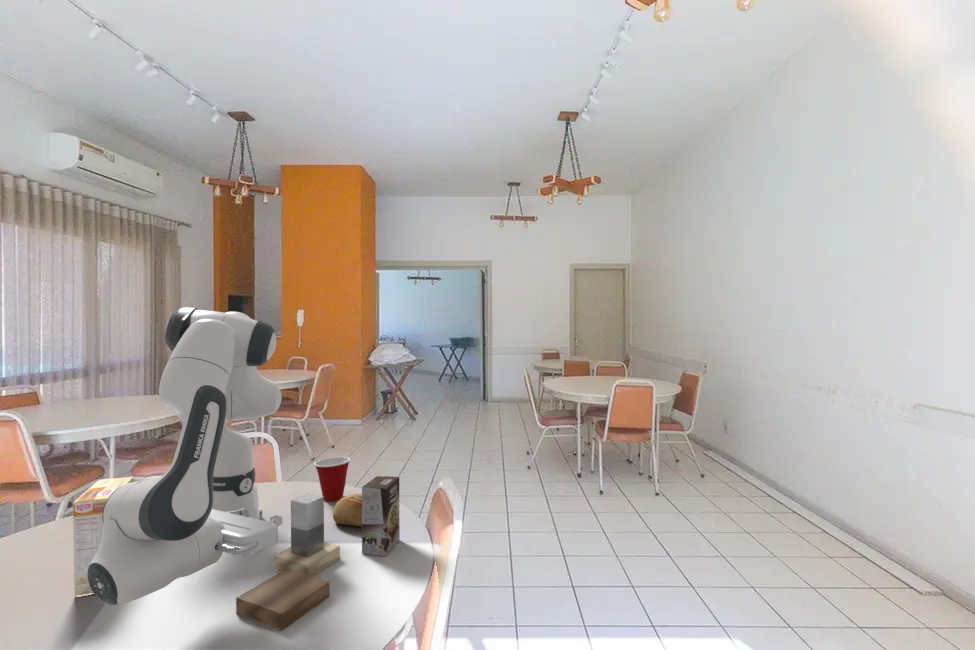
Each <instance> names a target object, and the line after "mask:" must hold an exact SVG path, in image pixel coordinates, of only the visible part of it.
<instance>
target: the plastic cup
mask: <svg viewBox="0 0 975 650" xmlns="http://www.w3.org/2000/svg"><path fill="white" fill-rule="evenodd" d="M350 461H351V458H350V457H349V456H334V457H332V456H331V457H329V458H323V459H320V460H317V461H315V462H314V463H313V465H314V467H315V470H316V472H317V475H318V481H319V486H320V490H321V496H324V502H330V503H331V502H338V501H339V500H340V499H341V498H344V494H345V493H344V492H345V487H346V482H347V481H346V479H347V474H348V469H349V463H350Z"/></svg>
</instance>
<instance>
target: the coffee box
mask: <svg viewBox="0 0 975 650" xmlns="http://www.w3.org/2000/svg"><path fill="white" fill-rule="evenodd" d="M361 494H362V527H361V554H363V555H372V556H380V557H386V556H387V555H388V554H389V553H390V551H392V549H393V548H394V547H395V546H396V545H397V543H398V542H399V541H400V538H401V537H400V536H401V535H400V530H401V529H400V525H401V524H400V523H401V522H400V477H399V476H387V475H386V476H381V475H377V476H374V478H373V479H371V480H370V481H368V482H367V483H365V484H364V485H362V486H361Z"/></svg>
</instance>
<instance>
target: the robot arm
mask: <svg viewBox="0 0 975 650" xmlns="http://www.w3.org/2000/svg"><path fill="white" fill-rule="evenodd" d="M164 341H165V344H166V346H167V347H168V348H169V350H171V351H172V353H171V354H170V356H169V359H168V361H167V363H166V364H165V365H166V366H165V368H164V369H163V372H162V375H161V377H160V382H159V386H158V395H159V397H160V398H159V399H161V402H162V403H163V404H164V405H165V406H166V407H167V408H168V409H169V410H170V411H172V412H174V413H175V414H176V415H177V417H178V419H179V420H181V422H182V428H181V431H180V436H179V439H178V442H177V445H176V449H175V452H174V455H173V460H172V463H171V465H170V467H169V468H168V469H167V470H166V471H165V472H164V474H162V475H161V476H160V477H155V478H147V479H141V480H136V481H133V482H130V483H127V484H125V485H123V486H121V487H119V488H118V489H117V490H115V491H114V492H113V493H112V494H111V496H110V497H109V498H108V500H107V501H106V503H105V506H104V509H103V515H102V518H103V524H104V525H103V532H102V538H101V542H100V545H99V548H98V551H97V553H96V555H95V557H94V558H93V560H92V561H91V563H90V565H89V567H88V582H89V585H90V588H91V590H92V591H93V593H94V594H95V595H94V596H95V597H97V598H98V599H99V600H100V601H101V602H103V603H105V604H108V605H115V606H117V605H122V604H127V603H130V602H133V601H135V600H136V601H137V600H139V599H141V598H143V597H147V596H148V595H151V594H154V593H155V592H157V591H160V590H162V589H164V588H167V587H168V585H170V584H172V583H173V582H174V581H175V580H177V579H180V578H185V577H189V576H191V575H193V574H195V573H197V572H199V571H202V570H204V569H205V568H207V567H210V566H212V565H214V564H216V563H218V562H219V560H220V559H221V558H222V555H223V552H224V553H226V554H230V555H233V556H237V557H245V556H250V555H252V554H256V553H259V552H260V551H263V550H266V549H268V548H270V547H273V546H274V545H276V543H277V542H278V540H279V539H278V538H279V536H278V535H279V527H281V525H283V516H282V515H277V514H276V515H273V516H271V517H269V521H268V520H262V519H261V515H260V514H261V513H262V511H263V510H262V507H261V506H260V503H259V496H258V487H257V485H256V483H255V481H256V469H255V467H254V443H253V441H252V439H251V438H250V437H249V436H248V435H246V434H243V433H242V432H238V431H235V430H233V429H230V428H229V427H228V422H234V421H243V420H244V421H245V420H255V419H259V418H263V417H267V416H271V415H273V414H275V413H276V412H277V411H278V409H279V408H280V406H281V403H282V392H281V389H280V387H279V385H278V384H277V383H276V382H275V381H274V380H271V379H268V378H266V377H265V376H263V375H262V374H261V373H260V372H259V371H258V369H257V367H262V366H264V365H265V364H267V363H268V362H269V360H270V359H271V357H272V356H273V355H274V352H275V350H276V347H277V335H276V330H275V328H274V327H273V326H272V324H270V323H268V322H266V321H263V320H260V319H258V320H256V319H252V318H251V317H250V316H249V315H248V314H245V313H244V312H239V311H228V312H222V311H216V310H209V309H208V310H207V309H206V310H205V309H199V308H197V307H181V308H179V309H177V310H175V311H174V312H173V313H172V314H171V316H170V317H169V319H168V321H167V322H166V325H165V331H164Z"/></svg>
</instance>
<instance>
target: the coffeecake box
mask: <svg viewBox="0 0 975 650" xmlns="http://www.w3.org/2000/svg"><path fill="white" fill-rule="evenodd" d="M130 482H134V476H127V477H115V478H104V479H103V478H102V479H98V480H97V481H96V482H95V483H93V485H91V486H90V487H89V488H87V490H86V491H84V492H83V493H82V494H80V496H79V497H77V499H75V500H74V501H73V502H72V503H71V504H72V516H73V517H72V519H73V520H72V523H73V525H72V526H73V527H72V529H73V567H74V568H73V569H74V570H73V572H74V574H73V575H74V577H73V578H74V580H73V581H74V583H73V584H74V597H75V596H76V595H83V594H89V593H93V591H92V590H91V588H90V585H89V582H88V567H89V565H90V563H91V561H92V560H93V558H94V557H95V555H96V553H97V551H98V548H99V545H100V542H101V538H102V532H103V525H104V524H103V518H102V515H103V509H104V506H105V503H106V501H107V500H108V498H109V497H110V496H111V494H112V493H113V492H114V491H115V490H117V489H118V488H119V487H121V486H123V485H125V484H127V483H130Z"/></svg>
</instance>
